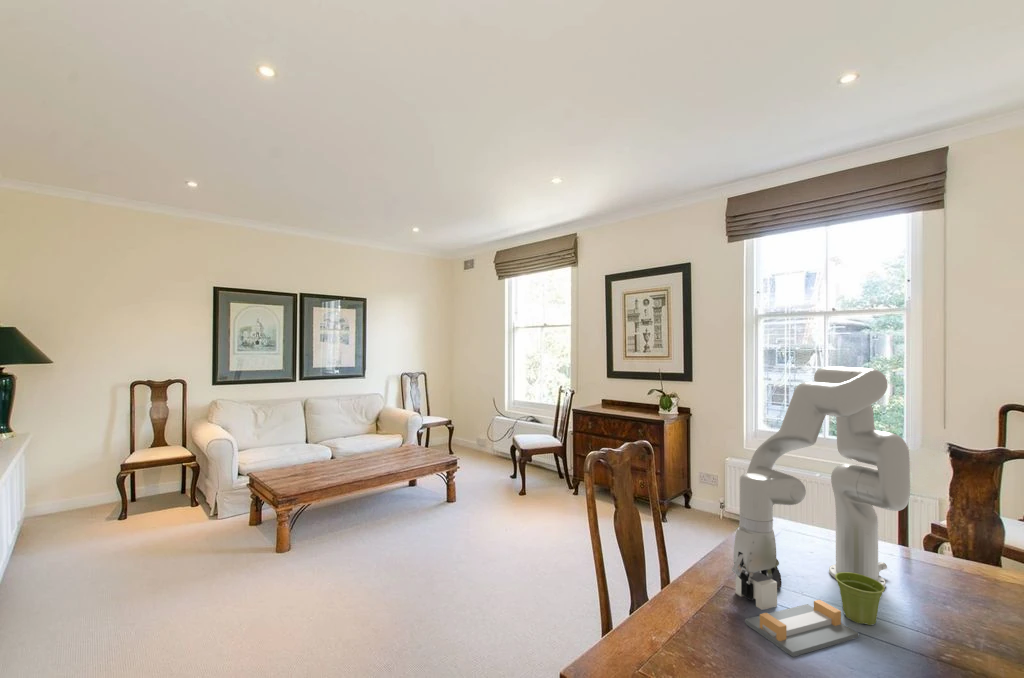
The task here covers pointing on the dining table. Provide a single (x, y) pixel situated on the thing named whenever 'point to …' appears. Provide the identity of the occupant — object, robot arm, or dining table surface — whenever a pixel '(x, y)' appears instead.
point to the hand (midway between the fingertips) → (755, 594)
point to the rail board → (803, 628)
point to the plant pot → (859, 596)
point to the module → (761, 590)
